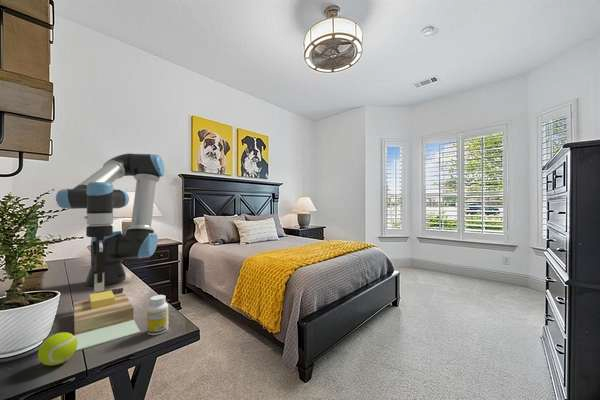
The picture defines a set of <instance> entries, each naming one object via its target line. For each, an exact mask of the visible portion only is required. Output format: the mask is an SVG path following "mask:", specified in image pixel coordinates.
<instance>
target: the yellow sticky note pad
mask: <svg viewBox="0 0 600 400" xmlns="http://www.w3.org/2000/svg"><path fill="white" fill-rule="evenodd" d="M109 290H110V291H105V290H104V291H105V292H100V293H96V292H94V293H90V294H89V300H90V305H91V309H94V308H98V307H103V306H108V305H112V304H115V296H114V294H113V292H112V289H109Z"/></svg>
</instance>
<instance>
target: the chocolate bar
mask: <svg viewBox="0 0 600 400" xmlns="http://www.w3.org/2000/svg"><path fill="white" fill-rule="evenodd" d="M110 290H112V292H113V294H114V295H116V294H121V293H124V292H123V291H124V287H120V288H119V287H118V288H113V289H107V290H106V289H104V291H100V292H105V291H110ZM100 292H95V293H100Z"/></svg>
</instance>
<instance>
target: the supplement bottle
mask: <svg viewBox="0 0 600 400" xmlns="http://www.w3.org/2000/svg"><path fill="white" fill-rule="evenodd" d="M166 299H167V298H166V295H164V294H158V295H154V296H151V297H149V304H150V305H148V307H147V308H146V309H147V311H146V314H147V315H146V318H147V319H146V321H147V322H146V323H147V324H146V326H147V328H146V330H147V331H146V332H147V334H148V335H149V336H158V335H162V334H164V333H166V332H168V330H169V327H170V326H169V325H170V323H169V318H170V317H169V313H170V312H169V304H168V303H167V302H166Z"/></svg>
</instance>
